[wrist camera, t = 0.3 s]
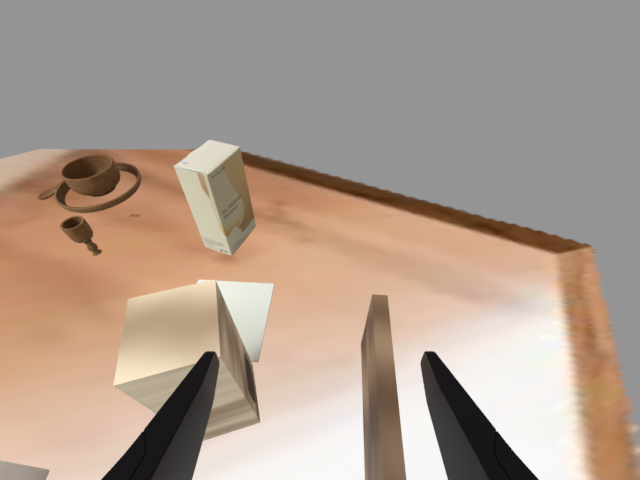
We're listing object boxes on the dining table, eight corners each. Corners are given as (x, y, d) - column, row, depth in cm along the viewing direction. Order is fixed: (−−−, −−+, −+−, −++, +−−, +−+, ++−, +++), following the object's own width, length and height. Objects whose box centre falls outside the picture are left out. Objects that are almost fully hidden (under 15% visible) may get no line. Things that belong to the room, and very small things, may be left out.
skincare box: (232, 257, 38) (205, 176, 29) (204, 248, 39) (169, 167, 30) (258, 224, 42) (241, 144, 33) (231, 216, 43) (208, 137, 34)
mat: (258, 362, 29) (258, 361, 29) (167, 356, 29) (166, 355, 29) (274, 284, 35) (274, 283, 35) (198, 280, 36) (198, 279, 35)
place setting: (174, 173, 52) (160, 141, 47) (107, 265, 38) (80, 232, 34) (77, 168, 53) (56, 137, 48) (-21, 255, 39) (-64, 222, 35)
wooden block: (261, 422, 26) (221, 356, 15) (199, 442, 25) (113, 385, 14) (253, 364, 29) (216, 279, 19) (198, 380, 28) (128, 298, 18)
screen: (386, 585, 19) (420, 619, 13) (367, 583, 19) (392, 616, 13) (372, 344, 30) (387, 295, 24) (360, 343, 30) (372, 294, 24)
